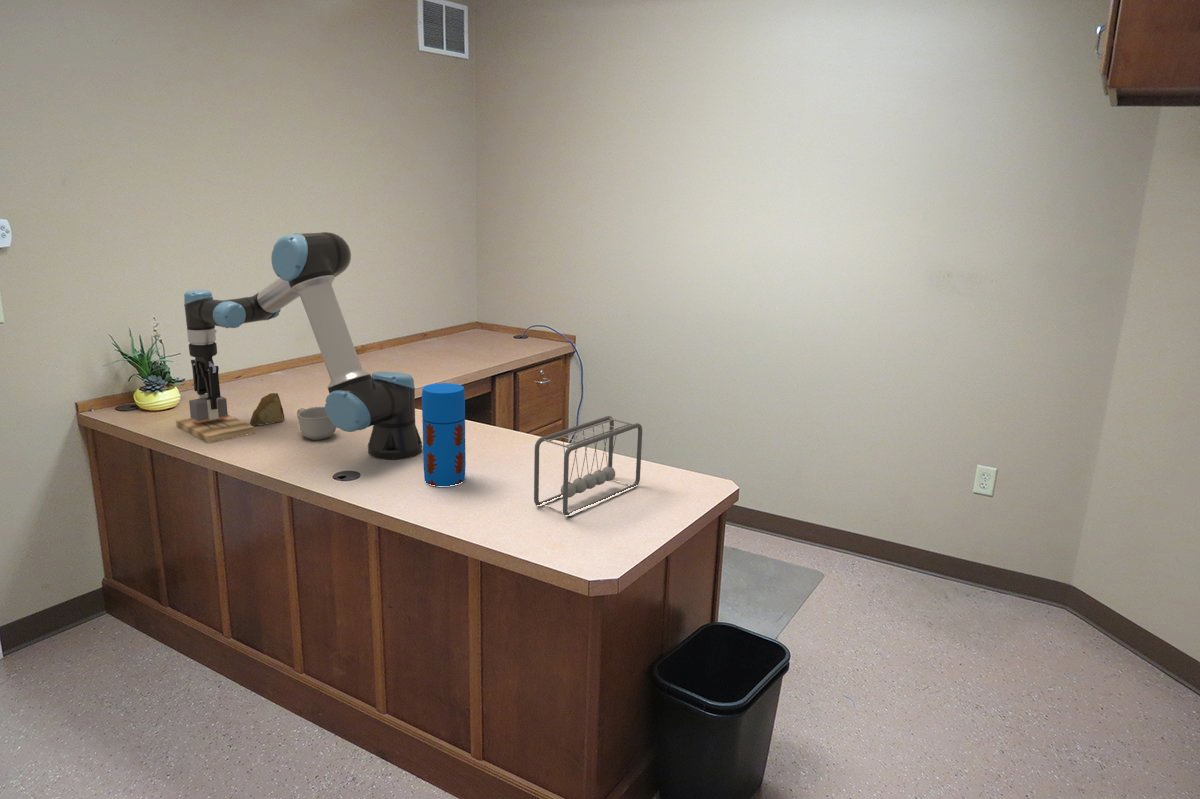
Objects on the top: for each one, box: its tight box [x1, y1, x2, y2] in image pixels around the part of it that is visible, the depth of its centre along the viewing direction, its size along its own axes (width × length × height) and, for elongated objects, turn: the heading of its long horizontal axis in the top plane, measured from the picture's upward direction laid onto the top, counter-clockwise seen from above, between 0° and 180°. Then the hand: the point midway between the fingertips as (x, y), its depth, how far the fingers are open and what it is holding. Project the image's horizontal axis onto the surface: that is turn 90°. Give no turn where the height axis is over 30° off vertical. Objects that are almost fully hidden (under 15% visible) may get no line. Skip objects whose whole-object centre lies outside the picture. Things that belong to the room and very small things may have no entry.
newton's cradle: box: [533, 415, 643, 516], centre depth 205 cm, size 30×10×18 cm, turn 141°
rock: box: [249, 392, 285, 427], centre depth 258 cm, size 11×9×10 cm
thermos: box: [421, 382, 467, 486], centre depth 212 cm, size 11×11×25 cm
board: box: [175, 414, 256, 444], centre depth 249 cm, size 22×14×2 cm, turn 48°
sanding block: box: [188, 395, 229, 423], centre depth 250 cm, size 5×9×6 cm, turn 138°
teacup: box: [296, 406, 337, 441], centre depth 246 cm, size 14×11×8 cm
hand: (209, 416), depth 250 cm, fingers closed on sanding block, 5 cm apart
